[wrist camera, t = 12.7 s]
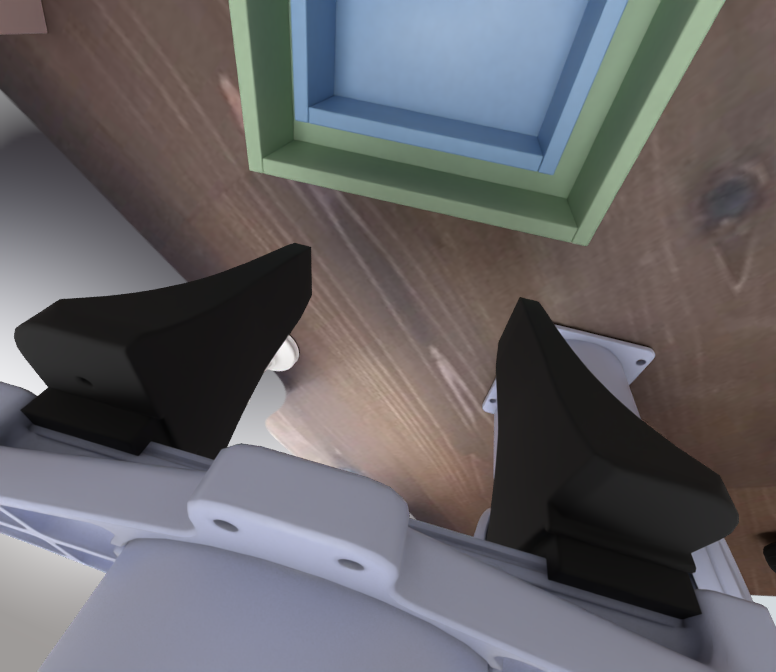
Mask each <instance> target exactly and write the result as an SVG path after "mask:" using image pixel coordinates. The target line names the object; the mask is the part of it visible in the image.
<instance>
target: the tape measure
mask: <svg viewBox="0 0 776 672" xmlns="http://www.w3.org/2000/svg"><path fill="white" fill-rule="evenodd" d="M763 553H764V556H765V559H766V561H767V563H768V565H769V566H770V568H771V569H772V570H773V571H774V572H775V573H776V542H775V543H771V544H769V545H767V546H765V547H764V549H763Z"/></svg>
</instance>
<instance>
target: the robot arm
mask: <svg viewBox="0 0 776 672" xmlns="http://www.w3.org/2000/svg"><path fill="white" fill-rule="evenodd" d="M311 296H312V275H311V247H309V246H305V245H301V244H297V243H293V244H290V245H287V246H285V247H282V248H280V249H278V250H275V251H273V252H271V253H268V254H266V255H264V256H261V257H259V258H257V259H255V260H252V261H250V262H248V263H245V264H242V265H240V266H237V267H234V268H232V269H229V270H227V271H224V272H221V273H218V274H215V275H212V276H209V277H206V278H202V279H199V280H195V281H192V282H188V283H184V284H179V285H174V286H169V287H165V288H160V289H155V290H149V291H143V292H136V293H129V294H121V295H112V296H101V297H86V298H72V299H60V300H58V301H56V302H55V303H53V304H52V305H50V306H49V307H47V308H46V309H44V310H43V311H41V312H40V313H38V314H37V315H35V316H33V317H32V318H30V319H29V320H27V321H26V322H24V323H22V324H21V325H19V326H18V327H17V328H16V329H15V333H14V339H15V342H16V345H17V347H18V349H19V350H20V352H21V353H22V355H23V356H24V358H25V359H26V360H27V361H28V363H29V364H30V365H31V366H32V368H33V369H34V370H35V371H36V373H37V374H38V375H39V376H40V378H41V379H42V380H43V381H44V382H45V384H46V385H47V386H48V388H47V389H46V390H45V391H43V392H42V393H41V394H40V395H39V396H36V395H35V394H33V393H32V392H30V391H28V390H26V389H23V388H21V387H17V386H14V385H10V384H7V383H4V382H0V533H2V534H5V535H8V536H10V537H13V538H16V539H18V540H21V541H24V542H27V543H29V544H31V545H34V546H37V547H40V548H42V549H45V550H48V551H50V552H53V553H55V554H58V555H60V556H63V557H66V558H68V559H71V560H73V561H76V562H79V563H81V564H84V565H86V566H89V567H92V568H95V569H97V570H100V571H102V572H104V573H106V575H105V576H104V578H103V579H102V580H101V582H100V583H99V585H98V586H97V587H96V589H95V590H94V592H93V593H92V594H91V596H90V598H89V599H88V600H87V602H86V603H85V604H84V606H83V607H82V609H81V610H80V611H79V613H78V614H77V616H76V617H75V618H74V620H73V621H72V623H71V624H70V626H69V627H68V628H67V630H66V631H65V633H64V634H63V635H62V637H61V638H60V640H59V641H58V642H57V644H56V645H55V647H54V648H53V650H52V651H51V652H50V654H49V655H48V657H47V658H46V660H45V661H44V662H43V664H42V665H41V666H40V668H39V669H38V671H37V672H776V626H775V624H774V622H773V620H772V618H771V615H770V613H769V611H768V609H767V608H766V607H764V606H763V605H761V604H758V603H755V602H753V600H752V598H751V595H750V593H749V591H748V589H747V586H746V584H745V582H744V580H743V578H742V575H741V573H740V571H739V569H738V567H737V564H736V562H735V560H734V558H733V556H732V554H731V551H730V549H729V547H728V545H727V543H726V541H725V539H724V537H726V536H727V535H729V534H731V533H732V531H733V530H734V529H735V527H736V526H737V525H738V523H739V514H738V512H737V510H736V508H735V506H734V504H733V502H732V500H731V498H730V496H729V494H728V491H727V489H726V487H725V485H724V483H723V481H722V479H721V477H720V475H718V474H717V473H715V472H714V471H712V470H711V469H709V468H708V467H706V466H705V465H703V464H702V463H700V462H699V461H697V460H696V459H694V458H693V457H691V456H690V455H688V454H687V453H685V452H684V451H682V450H681V449H679V448H678V447H676V446H675V445H674V444H672V443H671V442H670V441H668V440H667V439H666V438H664V437H663V436H662V435H660V434H659V433H658V432H656V431H655V430H654V429H652V428H651V427H650V426H649V425H647V424H646V423H645V422H644V421H642V420H641V418H640V415H639V412H638V409H637V407H636V404H635V401H634V398H633V395H632V393H631V390H630V387H629V385H630V384H631V383H632V382H633V381H634V380H635V379H636V377H637V376H638V375H639V374H640V373H641V372H642V371H643V370H644V369H645V368H646V367H647V365H648V364H649V363H650V362H651V361H652V360H653V359H654V357H655V353H654V351H653V349H651V348H649V347H645V346H641V345H637V344H633V343H629V342H625V341H620V340H616V339H612V338H608V337H604V336H600V335H596V334H592V333H588V332H584V331H580V330H576V329H571V328H567V327H563V326H559V325H555V324H554V323H553V322H552V320H551V319H550V317H549V316H548V314H547V313H546V311H545V310H544V309H543V307H542V306H541V304H540V303H539V302H538V301H534V300H529V299H525V298H521V297H520V298H519V300H518V302H517V304H516V306H515V308H514V310H513V313H512V315H511V317H510V319H509V321H508V323H507V325H506V327H505V330H504V332H503V334H502V336H501V338H500V340H499V343H498V351H497V360H496V379H495V381H494V383H493V385H492V387H491V389H490V390H489V392H488V394H487V396H486V398H485V400H484V402H483V405H482V408H483V410H484V411H486V412H489V413H492V414H494V485H493V494H492V503H491V508H489V509H487V510H486V511H485V512H484V513H483V514H482V516H481V517H480V519H479V522H478V524H477V528H476V531H475V534H474V537H472V536H469V535H465V534H462V533H459V532H455V531H452V530H448V529H445V528H442V527H438V526H435V525H432V524H428V523H425V522H421V521H418V520H415V519H411V518H409V517H410V515H409V510H408V504H407V503H406V501H405V500H404V499H403V498H402V497H401V496H400V495H399V494H398V493H397V492H395V491H394V490H393V489H392V488H391V487H389V486H387V485H385V484H382V483H380V482H378V481H375V480H373V479H371V478H368V477H365V476H362V475H358V474H355V473H351V472H348V471H344V470H341V469H338V468H334V467H331V466H327V465H324V464H320V463H317V462H313V461H310V460H307V459H303V458H300V457H296V456H293V455H289V454H286V453H282V452H279V451H276V450H272V449H269V448H265V447H262V446H255V445H248V444H242V443H241V444H236V445H233V446H230V447H227V446H228V444H229V441H230V439H231V437H232V435H233V433H234V431H235V429H236V426H237V424H238V422H239V420H240V418H241V415H242V413H243V411H244V410H245V408H246V406H247V404H248V402H249V400H250V398H251V395H252V394H253V392H254V390H255V388H256V386H257V384H258V382H259V380H260V379H261V377H262V375H263V373H264V371H265V369H266V368H267V366H268V365H269V363H270V362H271V360H272V359H273V357H274V356H275V354H276V353H277V351H278V350H279V349H280V347H281V346H282V344H283V343H284V341H285V340H286V339H287V337H288V336H289V334H290V333H291V331H292V330H293V328H294V327H295V325H296V324H297V323H298V321H299V320H300V318H301V316H302V314H303V312H304V310H305V308H306V306H307V304H308V302H309V300H310V298H311ZM641 359H642V361H638V360H641Z"/></svg>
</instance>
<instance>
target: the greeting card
mask: <svg viewBox="0 0 776 672" xmlns="http://www.w3.org/2000/svg"><path fill="white" fill-rule="evenodd" d="M39 33H48V32H47V28H46V23H45V18H44V13H43V8H42V3H41V0H0V35H3V34H39Z"/></svg>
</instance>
